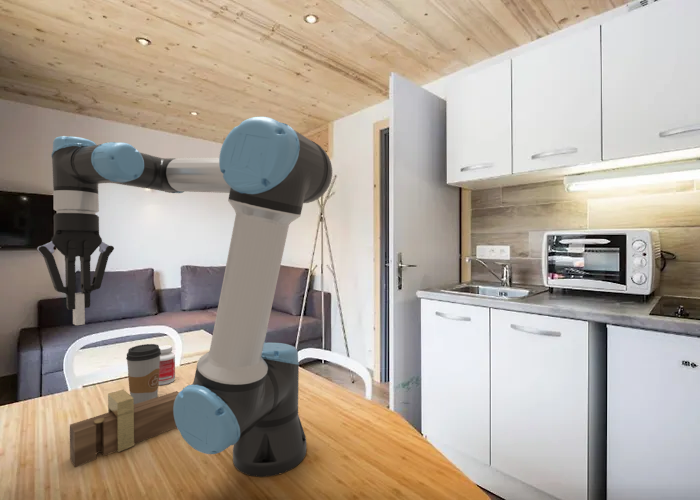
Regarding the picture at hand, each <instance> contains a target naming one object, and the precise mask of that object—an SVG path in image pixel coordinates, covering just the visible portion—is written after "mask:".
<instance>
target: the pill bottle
mask: <svg viewBox="0 0 700 500" xmlns="http://www.w3.org/2000/svg"><path fill="white" fill-rule="evenodd" d="M158 346H159V348H160V352H161V355H160V364H159V369H160V370H159V385H158V386H163V385H169V384H172V383H173V382H174V381H175V380H176V354H175V353H174V352H173V346H172V345H170V344H168V345H167V344H166V345H165V344H164V345H158Z"/></svg>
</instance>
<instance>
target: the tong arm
mask: <svg viewBox="0 0 700 500" xmlns="http://www.w3.org/2000/svg"><path fill="white" fill-rule="evenodd" d="M176 396H177V395H175V396H172V397H169V398H166V399H162V400H159V401H156V402H153V403H150V404H147V405H144V406H141V407H138V408H135V409H134V445H136V444H137V443H138V444H139V443H140V442H143V441H146V440H148V439H150V438H153V437H156V436H158V435H161V434H163V433H166V432H168V431H171V430H173V429H176V428H177V426H176V423H175V420H174V414H173V406H174V401H175V398H176ZM104 419H105V421H104V422H102V423H101V452H100V453H101V454H102V455H103V457H104V456H107V455H110V454H112V453H115V452H117V416H116V415H113V416H110V417H107V418H104Z"/></svg>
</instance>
